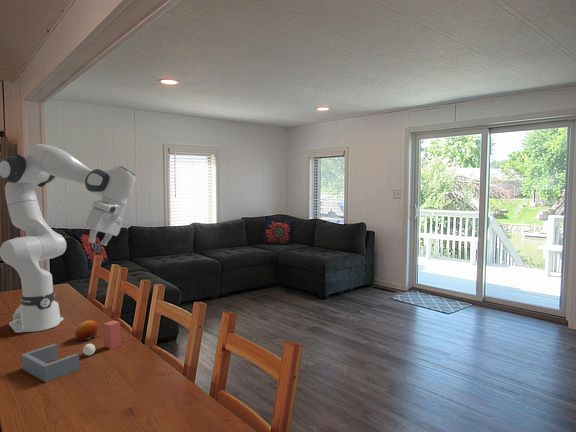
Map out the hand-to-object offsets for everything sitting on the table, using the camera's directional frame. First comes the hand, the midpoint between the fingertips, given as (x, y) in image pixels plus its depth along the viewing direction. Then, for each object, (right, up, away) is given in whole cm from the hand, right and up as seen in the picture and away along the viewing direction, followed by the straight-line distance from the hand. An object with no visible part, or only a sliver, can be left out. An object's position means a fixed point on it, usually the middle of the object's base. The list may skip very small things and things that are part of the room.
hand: (97, 243), depth 150 cm
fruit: (-9, -38, +10) cm, 40 cm away
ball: (0, -39, -6) cm, 39 cm away
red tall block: (+5, -38, +2) cm, 39 cm away
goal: (-7, -40, -16) cm, 43 cm away
